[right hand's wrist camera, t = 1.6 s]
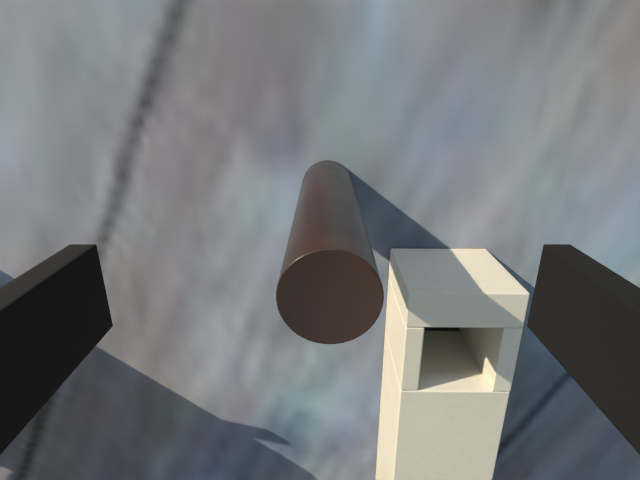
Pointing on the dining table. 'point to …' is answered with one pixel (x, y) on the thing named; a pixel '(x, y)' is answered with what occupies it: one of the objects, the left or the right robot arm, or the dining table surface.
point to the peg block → (447, 363)
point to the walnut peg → (329, 262)
